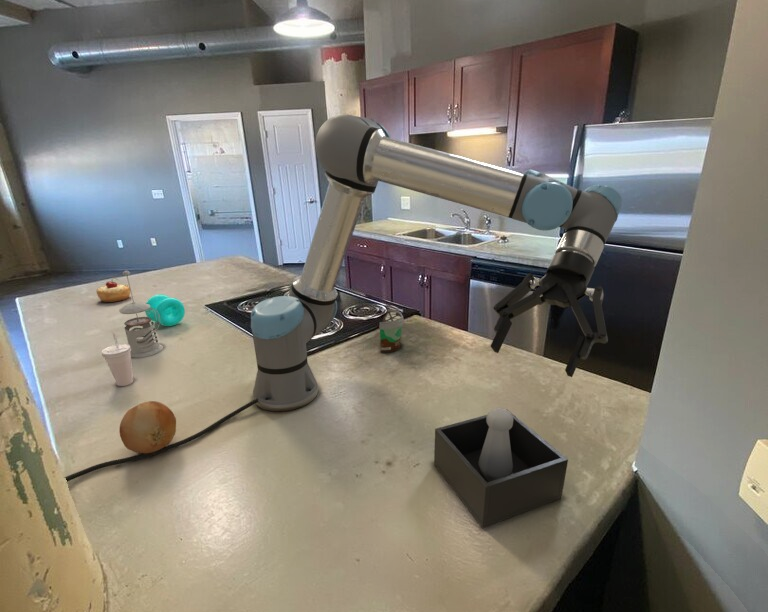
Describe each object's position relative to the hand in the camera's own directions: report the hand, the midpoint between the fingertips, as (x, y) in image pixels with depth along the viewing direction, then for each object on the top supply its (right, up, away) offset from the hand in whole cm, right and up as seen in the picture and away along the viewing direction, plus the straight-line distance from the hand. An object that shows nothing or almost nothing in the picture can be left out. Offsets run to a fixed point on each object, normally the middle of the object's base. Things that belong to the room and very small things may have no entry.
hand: (529, 361), depth 73 cm
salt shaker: (-6, -20, 0) cm, 21 cm away
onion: (-72, -19, +11) cm, 75 cm away
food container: (-22, -1, +54) cm, 58 cm away
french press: (-98, -2, +55) cm, 113 cm away
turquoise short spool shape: (-103, +6, +76) cm, 128 cm away
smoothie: (-93, -9, +36) cm, 100 cm away
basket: (-6, -21, 0) cm, 22 cm away
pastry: (-139, +16, +103) cm, 174 cm away
